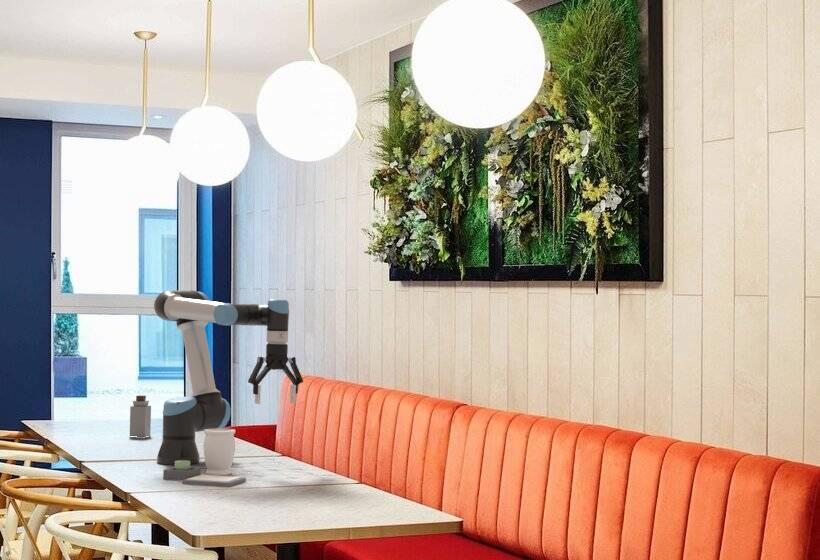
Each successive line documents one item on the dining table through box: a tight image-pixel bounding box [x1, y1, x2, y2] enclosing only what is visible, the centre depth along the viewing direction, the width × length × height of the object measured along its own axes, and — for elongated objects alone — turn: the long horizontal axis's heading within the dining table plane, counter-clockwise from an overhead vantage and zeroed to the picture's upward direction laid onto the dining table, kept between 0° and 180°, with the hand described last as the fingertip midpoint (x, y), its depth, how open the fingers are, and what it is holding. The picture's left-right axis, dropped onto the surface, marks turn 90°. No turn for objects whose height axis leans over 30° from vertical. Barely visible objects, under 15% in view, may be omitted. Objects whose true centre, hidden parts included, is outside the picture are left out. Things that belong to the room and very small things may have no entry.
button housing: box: [162, 466, 202, 481], centre depth 367 cm, size 9×9×3 cm
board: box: [181, 473, 247, 488], centre depth 359 cm, size 16×13×2 cm
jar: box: [203, 427, 236, 476], centre depth 378 cm, size 11×10×15 cm
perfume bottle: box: [129, 394, 152, 437], centre depth 484 cm, size 7×7×18 cm
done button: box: [174, 460, 191, 471], centre depth 367 cm, size 5×5×3 cm
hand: (275, 403), depth 393 cm, fingers open, 13 cm apart
